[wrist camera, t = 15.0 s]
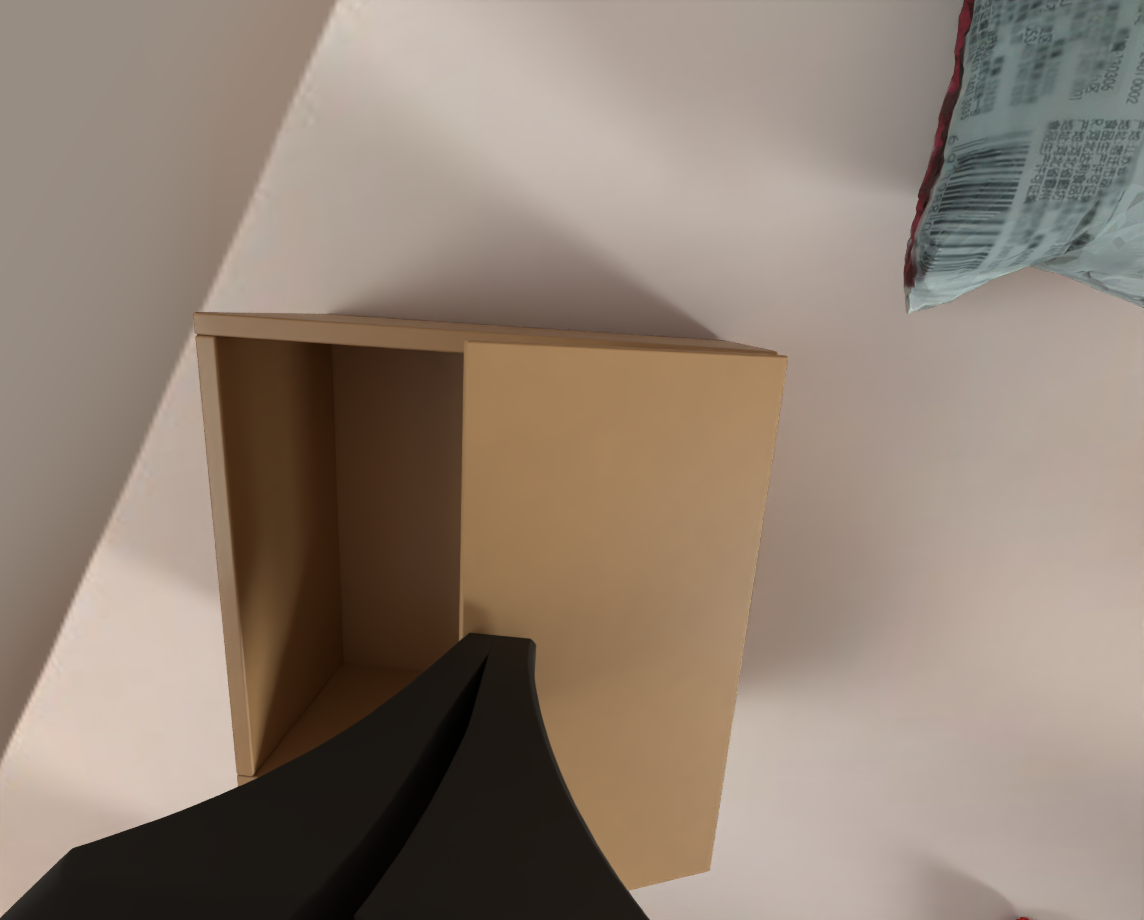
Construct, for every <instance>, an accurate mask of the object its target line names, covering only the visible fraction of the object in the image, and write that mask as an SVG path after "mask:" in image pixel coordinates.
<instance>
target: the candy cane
mask: <svg viewBox="0 0 1144 920" xmlns="http://www.w3.org/2000/svg"><path fill="white" fill-rule="evenodd" d="M1017 920H1035V919H1033V918H1029V917H1021V918H1019V919H1017Z"/></svg>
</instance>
